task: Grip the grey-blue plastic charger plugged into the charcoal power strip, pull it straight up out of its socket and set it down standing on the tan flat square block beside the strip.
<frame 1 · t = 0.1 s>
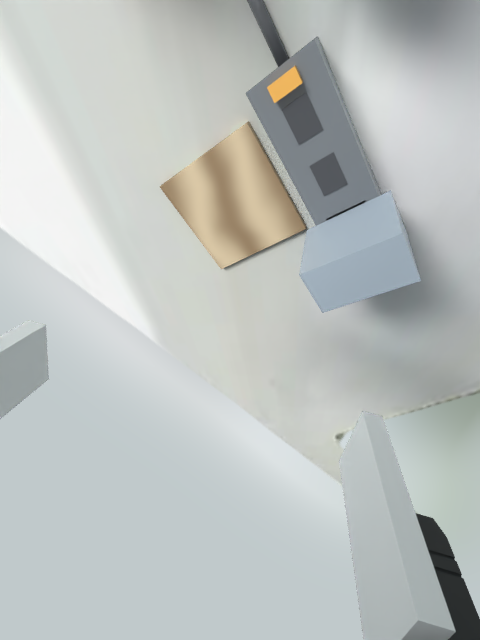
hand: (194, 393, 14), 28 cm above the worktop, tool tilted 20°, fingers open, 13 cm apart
charger: (354, 221, 33), point 2 cm above the worktop, touching power strip
tan flat square block: (233, 205, 37), on the worktop
power strip: (334, 170, 33), on the worktop
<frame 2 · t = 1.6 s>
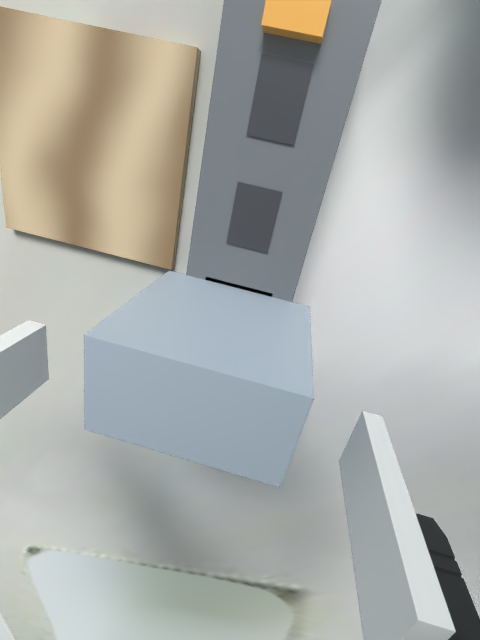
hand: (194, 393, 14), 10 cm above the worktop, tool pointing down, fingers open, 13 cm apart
charger: (237, 310, 21), point 2 cm above the worktop, touching power strip
tan flat square block: (93, 151, 20), on the worktop
power strip: (258, 226, 21), on the worktop
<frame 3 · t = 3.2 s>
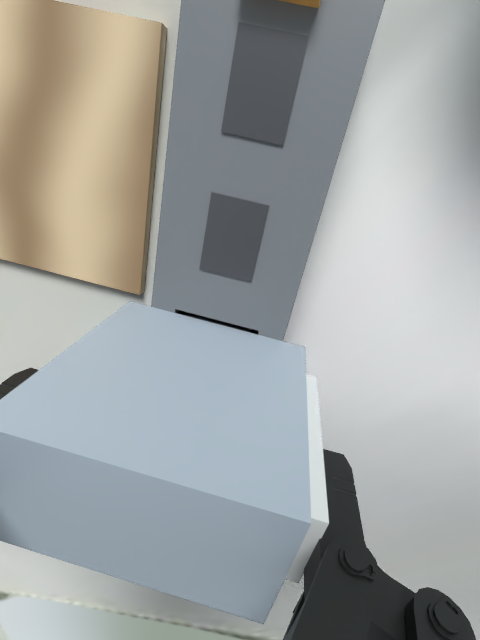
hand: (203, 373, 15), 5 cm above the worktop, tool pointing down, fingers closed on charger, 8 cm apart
charger: (217, 345, 17), point 2 cm above the worktop, touching gripper, power strip
tan flat square block: (41, 153, 17), on the worktop
power strip: (243, 243, 17), on the worktop
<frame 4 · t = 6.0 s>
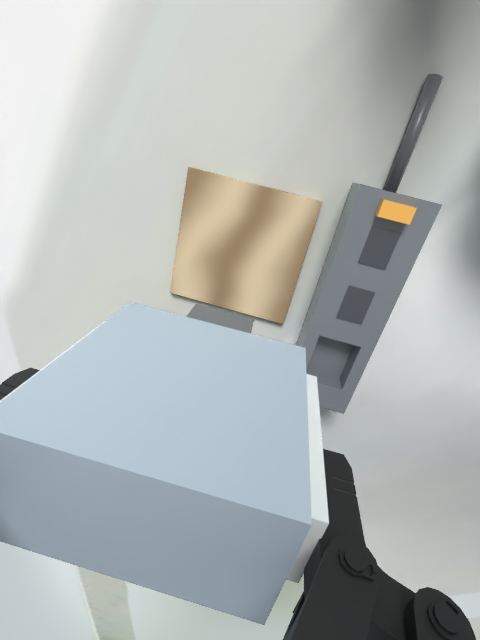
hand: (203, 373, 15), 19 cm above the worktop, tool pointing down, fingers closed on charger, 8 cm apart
charger: (218, 345, 17), point 16 cm above the worktop, touching gripper
tan flat square block: (240, 250, 32), on the worktop
power strip: (345, 299, 32), on the worktop
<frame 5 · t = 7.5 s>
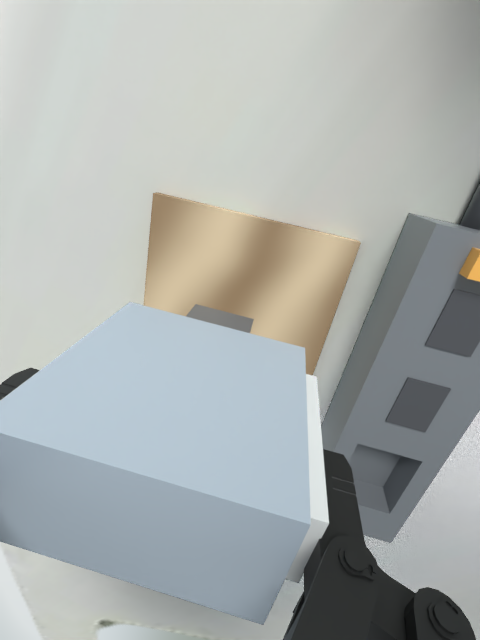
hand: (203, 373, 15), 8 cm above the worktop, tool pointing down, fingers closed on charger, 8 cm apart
charger: (217, 345, 17), point 5 cm above the worktop, touching gripper
tan flat square block: (235, 309, 22), on the worktop
power strip: (390, 378, 22), on the worktop
when the fingers open (5 cm above the worktop, at t = 8.8 s): charger drops 2 cm, resting on tan flat square block.
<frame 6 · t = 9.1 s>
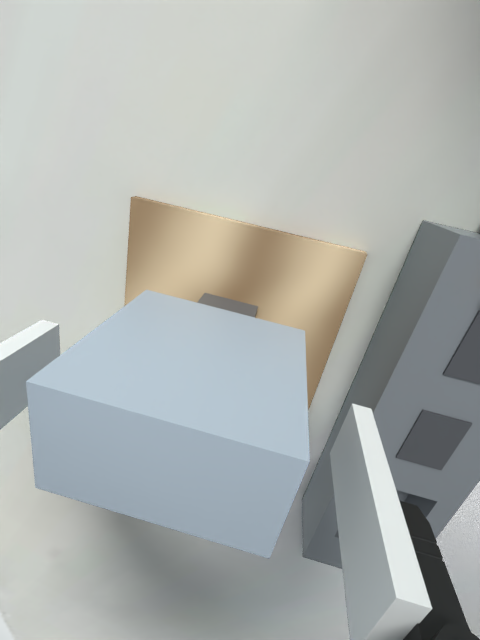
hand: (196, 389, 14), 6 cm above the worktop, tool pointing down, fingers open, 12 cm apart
charger: (224, 331, 19), point 1 cm above the worktop, touching tan flat square block
tan flat square block: (226, 326, 19), on the worktop
power strip: (399, 403, 20), on the worktop
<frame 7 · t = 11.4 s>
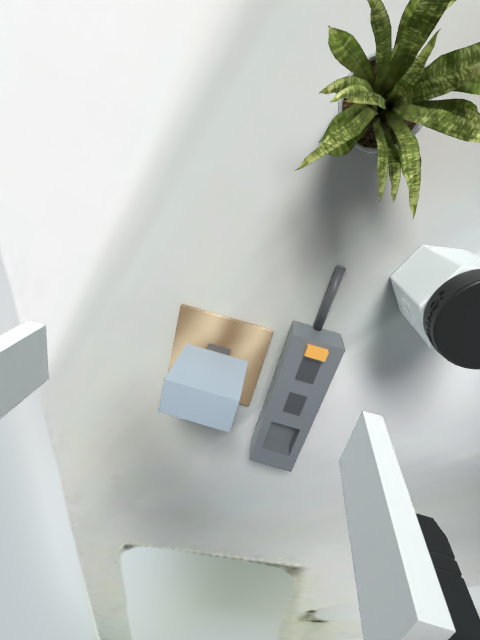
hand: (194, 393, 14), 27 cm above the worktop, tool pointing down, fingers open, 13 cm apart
charger: (216, 358, 44), point 1 cm above the worktop, touching tan flat square block
house plant: (359, 131, 32), on the worktop
jar: (430, 281, 37), on the worktop
tan flat square block: (217, 356, 45), on the worktop
power strip: (292, 391, 45), on the worktop
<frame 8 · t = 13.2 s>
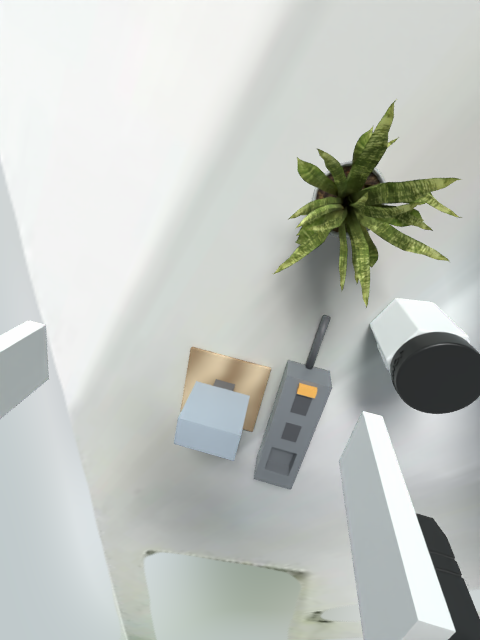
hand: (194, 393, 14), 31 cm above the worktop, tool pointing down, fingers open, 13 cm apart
charger: (223, 392, 51), point 1 cm above the worktop, touching tan flat square block
house plant: (336, 208, 38), on the worktop
jar: (405, 327, 43), on the worktop
tan flat square block: (223, 389, 51), on the worktop
power strip: (289, 418, 51), on the worktop
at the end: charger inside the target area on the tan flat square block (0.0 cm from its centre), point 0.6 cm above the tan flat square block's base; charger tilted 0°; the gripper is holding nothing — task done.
